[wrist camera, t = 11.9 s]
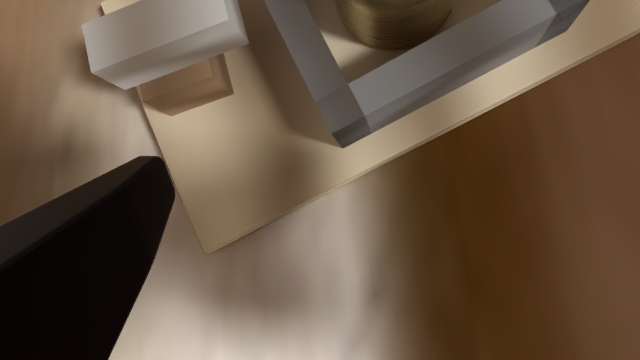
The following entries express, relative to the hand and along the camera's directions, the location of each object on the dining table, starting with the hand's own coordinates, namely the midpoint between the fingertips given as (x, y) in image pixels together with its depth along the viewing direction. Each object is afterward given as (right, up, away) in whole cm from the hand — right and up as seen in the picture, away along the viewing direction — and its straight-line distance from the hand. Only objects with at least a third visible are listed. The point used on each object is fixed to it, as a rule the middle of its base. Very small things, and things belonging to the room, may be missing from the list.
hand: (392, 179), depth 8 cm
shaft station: (+2, +7, +10) cm, 12 cm away
